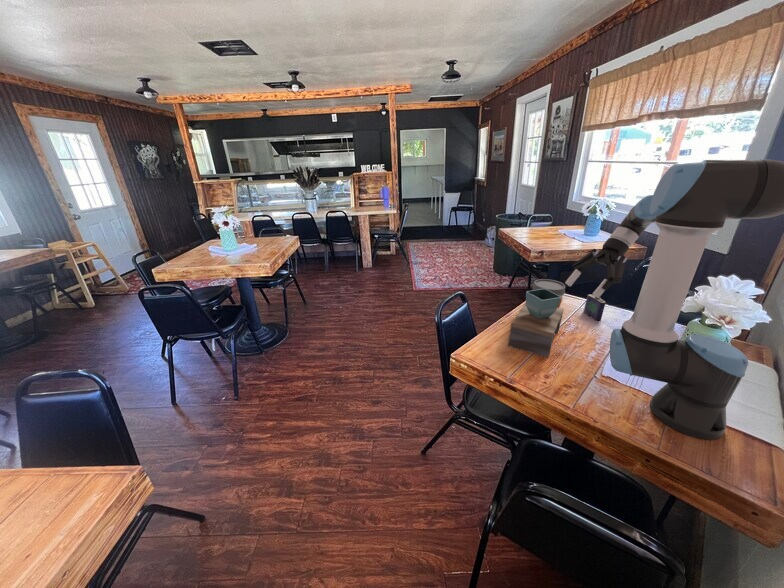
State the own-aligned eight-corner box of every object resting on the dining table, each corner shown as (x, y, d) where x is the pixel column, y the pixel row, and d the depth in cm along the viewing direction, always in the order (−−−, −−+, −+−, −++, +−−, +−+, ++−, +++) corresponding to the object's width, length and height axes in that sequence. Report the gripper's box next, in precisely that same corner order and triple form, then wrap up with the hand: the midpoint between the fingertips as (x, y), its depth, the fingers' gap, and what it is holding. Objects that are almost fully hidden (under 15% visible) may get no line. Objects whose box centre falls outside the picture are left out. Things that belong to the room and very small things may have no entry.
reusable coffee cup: (541, 306, 148) (547, 277, 141) (565, 318, 137) (572, 286, 131) (522, 312, 143) (527, 282, 137) (545, 324, 132) (551, 292, 126)
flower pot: (540, 308, 124) (544, 287, 120) (557, 318, 116) (562, 296, 113) (521, 312, 122) (525, 291, 118) (538, 322, 114) (542, 300, 110)
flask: (581, 312, 142) (587, 290, 138) (587, 311, 142) (593, 289, 138) (597, 322, 134) (603, 299, 129) (603, 321, 134) (609, 298, 130)
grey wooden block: (548, 357, 111) (553, 333, 107) (508, 345, 119) (511, 322, 114) (558, 330, 128) (563, 308, 123) (523, 321, 135) (526, 300, 131)
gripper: (658, 255, 103) (615, 306, 107) (597, 242, 126) (563, 285, 130) (646, 242, 101) (602, 296, 104) (586, 232, 124) (552, 276, 127)
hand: (580, 290), depth 117 cm, fingers open, 13 cm apart
